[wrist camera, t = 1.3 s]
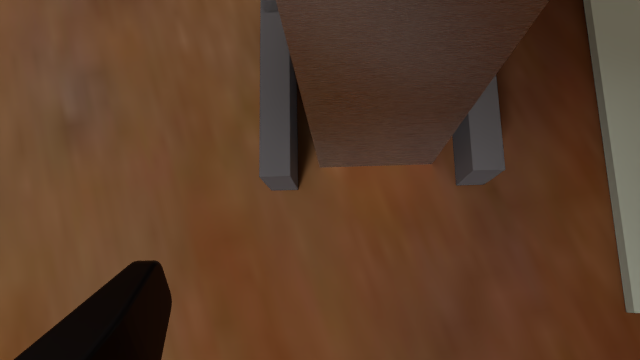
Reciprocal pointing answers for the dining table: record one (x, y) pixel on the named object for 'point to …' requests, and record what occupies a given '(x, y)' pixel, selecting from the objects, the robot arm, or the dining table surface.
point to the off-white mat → (620, 124)
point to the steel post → (396, 71)
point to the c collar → (281, 118)
